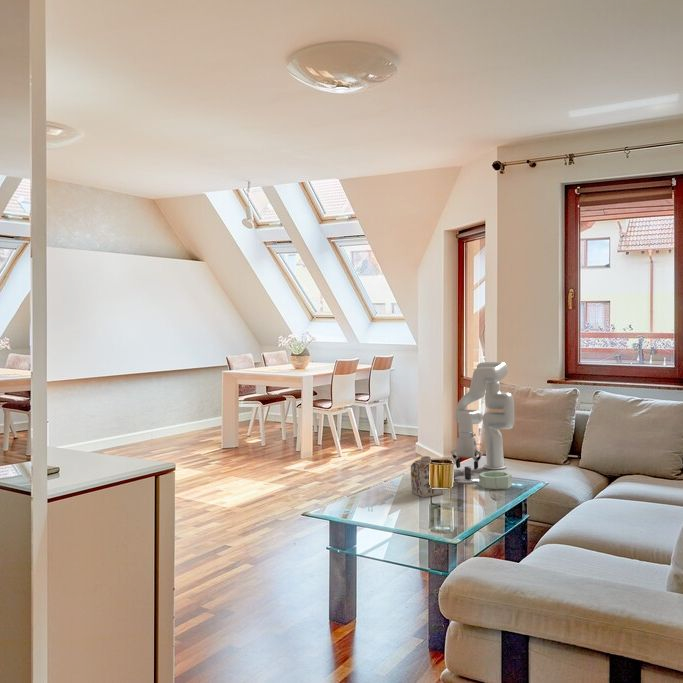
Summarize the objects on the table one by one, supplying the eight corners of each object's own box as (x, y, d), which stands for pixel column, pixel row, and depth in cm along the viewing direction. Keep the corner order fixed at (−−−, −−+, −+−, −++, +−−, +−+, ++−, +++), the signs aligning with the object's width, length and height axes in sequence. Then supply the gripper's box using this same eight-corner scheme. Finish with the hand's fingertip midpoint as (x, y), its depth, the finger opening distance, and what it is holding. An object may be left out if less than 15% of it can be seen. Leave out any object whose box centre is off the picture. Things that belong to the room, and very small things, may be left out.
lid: (460, 476, 363) (459, 463, 363) (487, 478, 354) (487, 465, 354) (448, 482, 350) (447, 468, 350) (476, 484, 341) (476, 470, 341)
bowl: (486, 482, 348) (486, 470, 348) (514, 484, 340) (514, 472, 340) (475, 488, 336) (475, 476, 336) (504, 490, 328) (504, 478, 328)
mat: (459, 476, 364) (459, 475, 364) (489, 479, 355) (489, 477, 355) (446, 483, 350) (446, 482, 350) (477, 486, 340) (477, 484, 340)
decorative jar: (431, 489, 337) (430, 453, 337) (444, 494, 327) (442, 457, 326) (410, 493, 333) (409, 456, 333) (422, 497, 322) (420, 460, 322)
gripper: (484, 435, 350) (485, 468, 350) (453, 433, 360) (454, 466, 359) (478, 437, 344) (480, 470, 344) (447, 435, 353) (448, 468, 353)
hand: (467, 468), depth 352 cm, fingers open, 9 cm apart
